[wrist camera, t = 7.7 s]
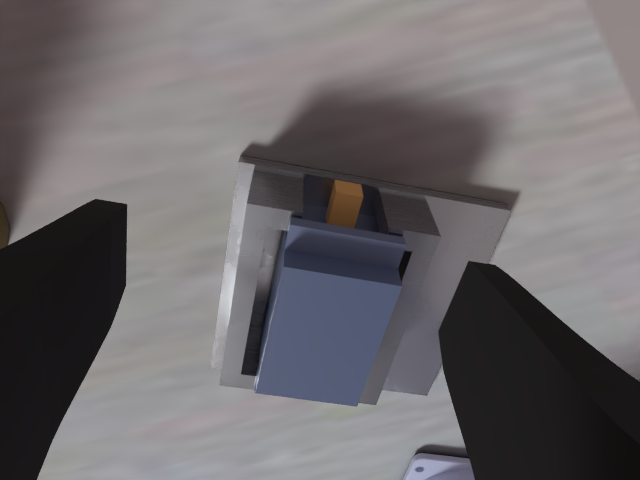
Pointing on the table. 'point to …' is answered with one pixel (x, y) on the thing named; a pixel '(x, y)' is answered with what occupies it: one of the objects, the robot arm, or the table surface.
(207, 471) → the table surface
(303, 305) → the blue-grey long block
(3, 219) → the cork
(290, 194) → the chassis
